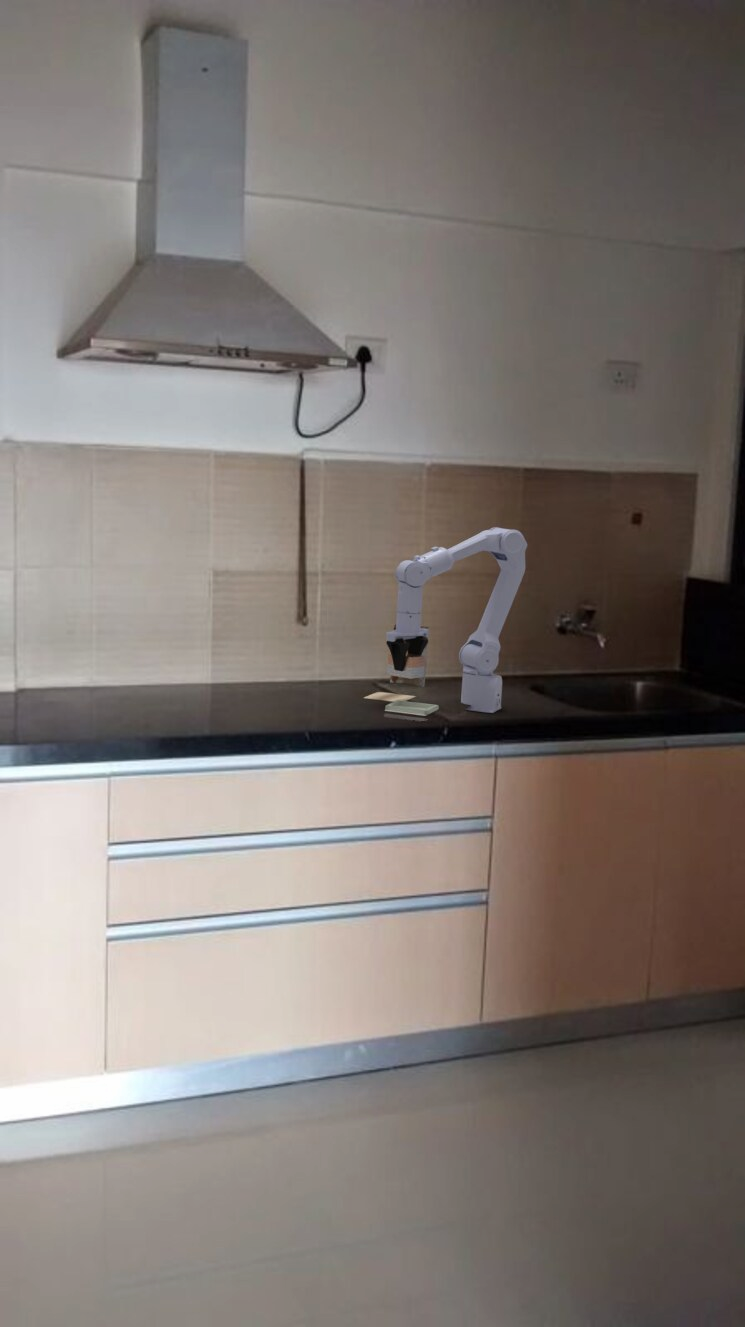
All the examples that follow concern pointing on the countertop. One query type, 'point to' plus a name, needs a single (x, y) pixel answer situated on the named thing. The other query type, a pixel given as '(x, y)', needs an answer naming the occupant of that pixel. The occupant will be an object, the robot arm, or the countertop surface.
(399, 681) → the coffee box
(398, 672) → the housing
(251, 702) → the countertop surface
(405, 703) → the stand
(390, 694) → the stand
